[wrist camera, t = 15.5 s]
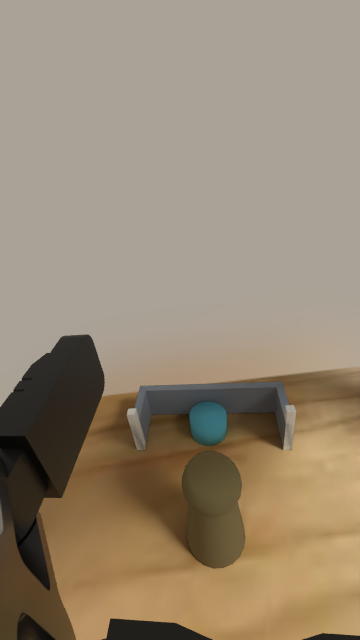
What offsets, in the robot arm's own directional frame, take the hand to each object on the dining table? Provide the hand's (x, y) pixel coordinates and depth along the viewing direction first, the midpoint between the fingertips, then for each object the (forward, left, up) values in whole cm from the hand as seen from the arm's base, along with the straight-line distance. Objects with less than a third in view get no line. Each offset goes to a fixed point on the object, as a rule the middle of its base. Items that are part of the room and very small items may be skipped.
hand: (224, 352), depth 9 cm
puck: (+2, -21, -30) cm, 37 cm away
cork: (+2, -8, -30) cm, 31 cm away
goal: (+2, -21, -30) cm, 36 cm away
